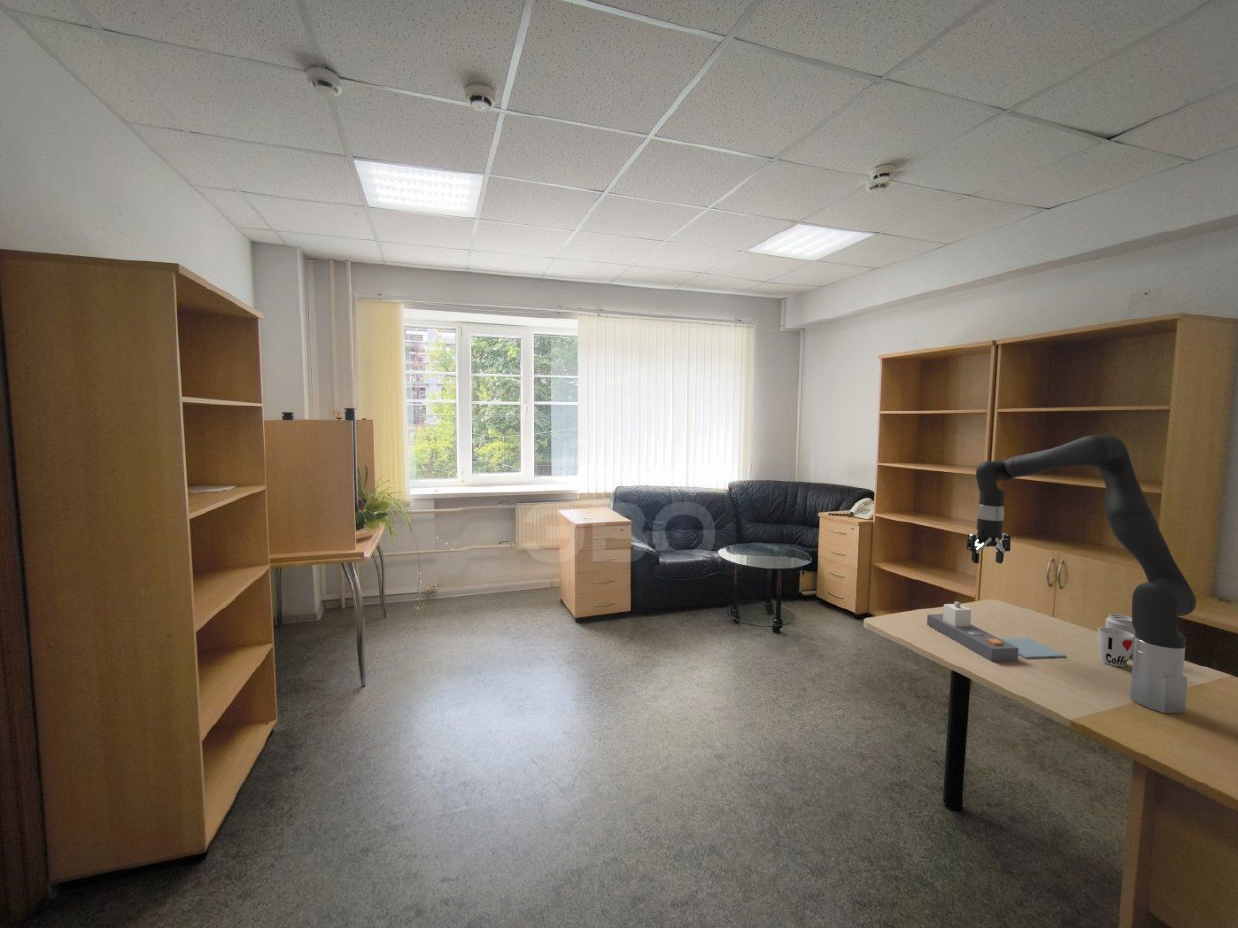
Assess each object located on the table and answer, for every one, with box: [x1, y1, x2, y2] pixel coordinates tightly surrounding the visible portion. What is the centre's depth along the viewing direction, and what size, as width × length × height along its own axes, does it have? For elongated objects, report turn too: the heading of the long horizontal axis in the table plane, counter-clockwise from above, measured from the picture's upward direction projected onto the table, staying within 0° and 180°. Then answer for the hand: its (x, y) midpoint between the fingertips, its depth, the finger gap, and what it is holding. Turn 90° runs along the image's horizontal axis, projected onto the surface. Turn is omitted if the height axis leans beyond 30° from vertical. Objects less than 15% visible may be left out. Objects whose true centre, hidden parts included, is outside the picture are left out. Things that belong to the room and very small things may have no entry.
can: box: [1104, 613, 1135, 657], centre depth 168 cm, size 8×8×12 cm
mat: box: [999, 637, 1067, 659], centre depth 171 cm, size 14×14×1 cm
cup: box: [1097, 626, 1134, 668], centre depth 160 cm, size 8×8×10 cm
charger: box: [942, 601, 972, 627], centre depth 183 cm, size 6×6×10 cm
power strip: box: [926, 613, 1019, 662], centre depth 177 cm, size 30×9×5 cm, turn 4°
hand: (987, 562), depth 181 cm, fingers open, 8 cm apart
